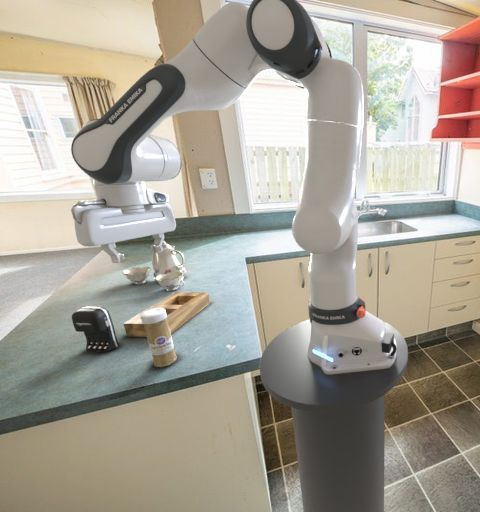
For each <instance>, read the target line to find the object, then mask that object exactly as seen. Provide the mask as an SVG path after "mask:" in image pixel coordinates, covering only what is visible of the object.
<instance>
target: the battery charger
mask: <svg viewBox="0 0 480 512" xmlns="http://www.w3.org/2000/svg"><path fill="white" fill-rule="evenodd" d="M71 321H72V325H73V328H74V330H75V332H78V333H83V334H84V336H85V339H86V344H85V345H86V346H85V348H86V349H85V350H86V351H87V352H93V353H94V352H95V353H107V352H110V351H112V350H114V349H116V348H118V347H119V345H120V343H119V340H118V337H117V334H116V330H115V326H114V323H113V320H112V316H111V314H110V311H109V310H108V309H107V308H106V307H103V306H85V307H81V308H80V309H78V310H76V311H74V312H73V313H72V315H71Z"/></svg>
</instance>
